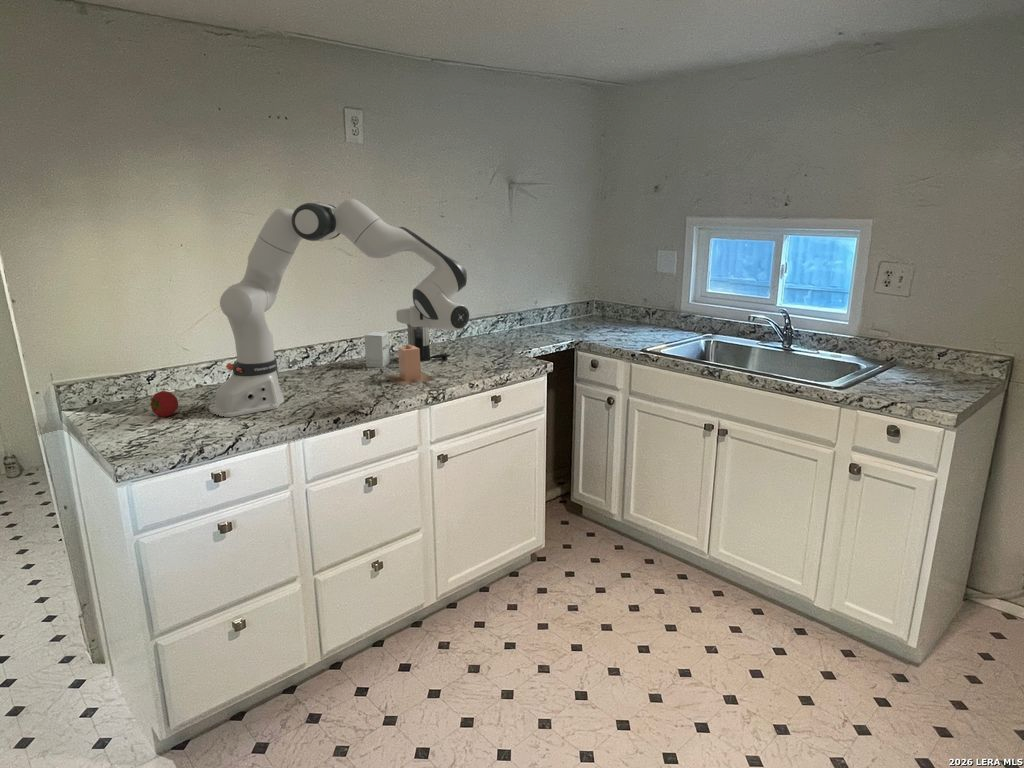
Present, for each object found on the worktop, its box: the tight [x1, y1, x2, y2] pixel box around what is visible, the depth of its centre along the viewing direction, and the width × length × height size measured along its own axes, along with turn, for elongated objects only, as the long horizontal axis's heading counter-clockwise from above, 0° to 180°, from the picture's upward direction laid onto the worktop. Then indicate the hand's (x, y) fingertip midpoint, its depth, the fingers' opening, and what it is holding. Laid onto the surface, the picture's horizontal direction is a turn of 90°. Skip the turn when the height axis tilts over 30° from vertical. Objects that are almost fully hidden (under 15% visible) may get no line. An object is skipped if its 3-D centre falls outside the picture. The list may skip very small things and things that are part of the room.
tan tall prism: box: [397, 344, 422, 381], centre depth 233 cm, size 6×6×12 cm
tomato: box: [149, 390, 179, 418], centre depth 196 cm, size 8×8×8 cm
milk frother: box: [406, 324, 451, 362], centre depth 263 cm, size 14×16×15 cm
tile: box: [384, 371, 437, 386], centre depth 235 cm, size 14×14×1 cm
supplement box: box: [363, 331, 391, 368], centre depth 255 cm, size 7×7×13 cm
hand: (417, 313), depth 219 cm, fingers open, 8 cm apart
